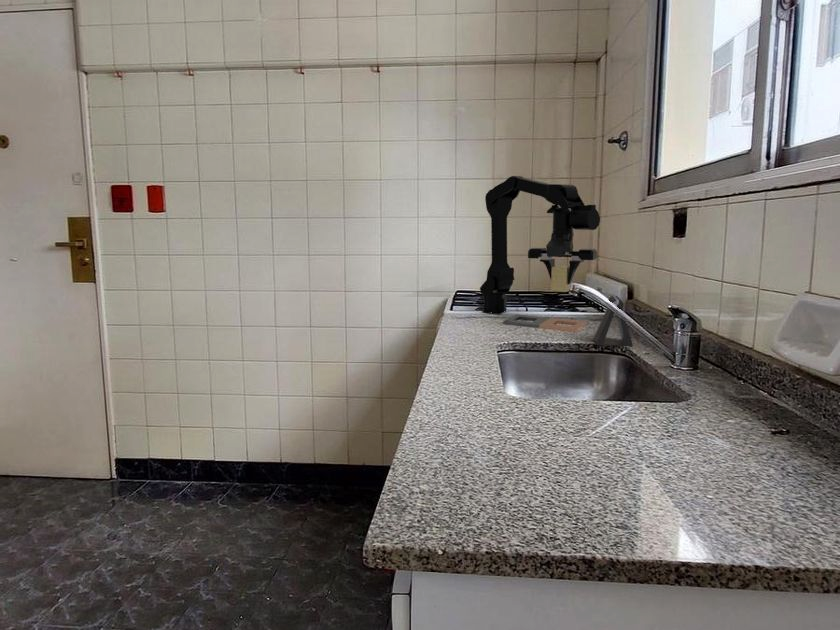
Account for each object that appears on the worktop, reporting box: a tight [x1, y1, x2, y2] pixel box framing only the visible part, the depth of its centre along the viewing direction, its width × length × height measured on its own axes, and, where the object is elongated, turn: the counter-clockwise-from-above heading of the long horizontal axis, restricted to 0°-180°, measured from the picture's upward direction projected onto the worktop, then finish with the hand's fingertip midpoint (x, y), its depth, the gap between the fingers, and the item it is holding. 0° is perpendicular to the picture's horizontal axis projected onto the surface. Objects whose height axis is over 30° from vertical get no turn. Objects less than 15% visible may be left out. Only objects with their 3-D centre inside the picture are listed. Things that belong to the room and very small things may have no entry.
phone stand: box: [593, 295, 634, 348], centre depth 144 cm, size 9×6×12 cm, turn 78°
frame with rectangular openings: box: [502, 314, 588, 333], centre depth 167 cm, size 22×12×1 cm, turn 61°
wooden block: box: [550, 265, 571, 293], centre depth 162 cm, size 4×4×7 cm
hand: (560, 283), depth 163 cm, fingers closed on wooden block, 4 cm apart
